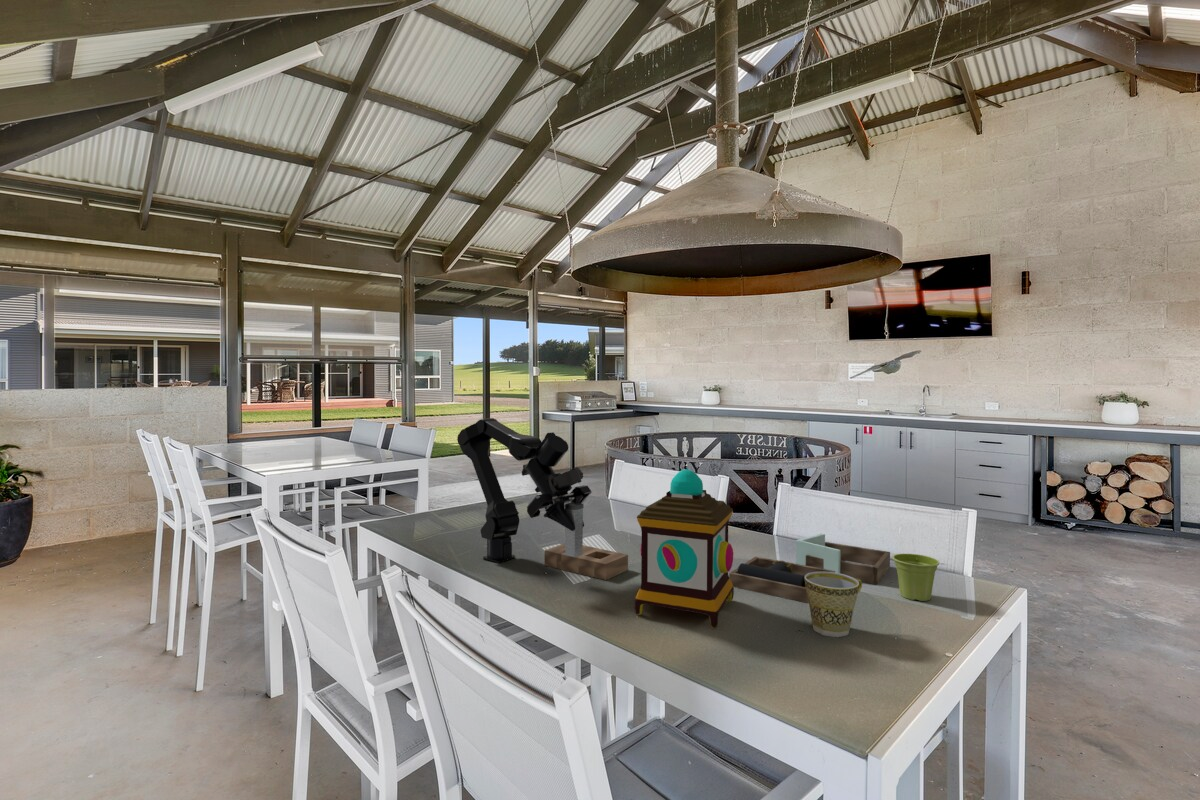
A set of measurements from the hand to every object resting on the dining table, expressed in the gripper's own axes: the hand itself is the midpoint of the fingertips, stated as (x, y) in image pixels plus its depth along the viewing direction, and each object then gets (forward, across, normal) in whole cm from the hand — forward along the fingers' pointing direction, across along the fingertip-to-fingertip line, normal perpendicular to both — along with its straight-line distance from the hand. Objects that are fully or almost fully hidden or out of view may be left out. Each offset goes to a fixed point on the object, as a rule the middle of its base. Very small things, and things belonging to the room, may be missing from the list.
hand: (578, 528), depth 139 cm
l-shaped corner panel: (+41, +50, -22) cm, 68 cm away
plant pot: (+56, +40, -38) cm, 79 cm away
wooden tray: (+37, +30, -19) cm, 51 cm away
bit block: (+5, +11, +14) cm, 18 cm away
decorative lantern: (+29, +2, -10) cm, 31 cm away
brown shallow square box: (+44, +52, -25) cm, 73 cm away
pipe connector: (+37, +28, -18) cm, 50 cm away
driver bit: (+4, 0, +6) cm, 7 cm away
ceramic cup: (+50, +11, -31) cm, 59 cm away
